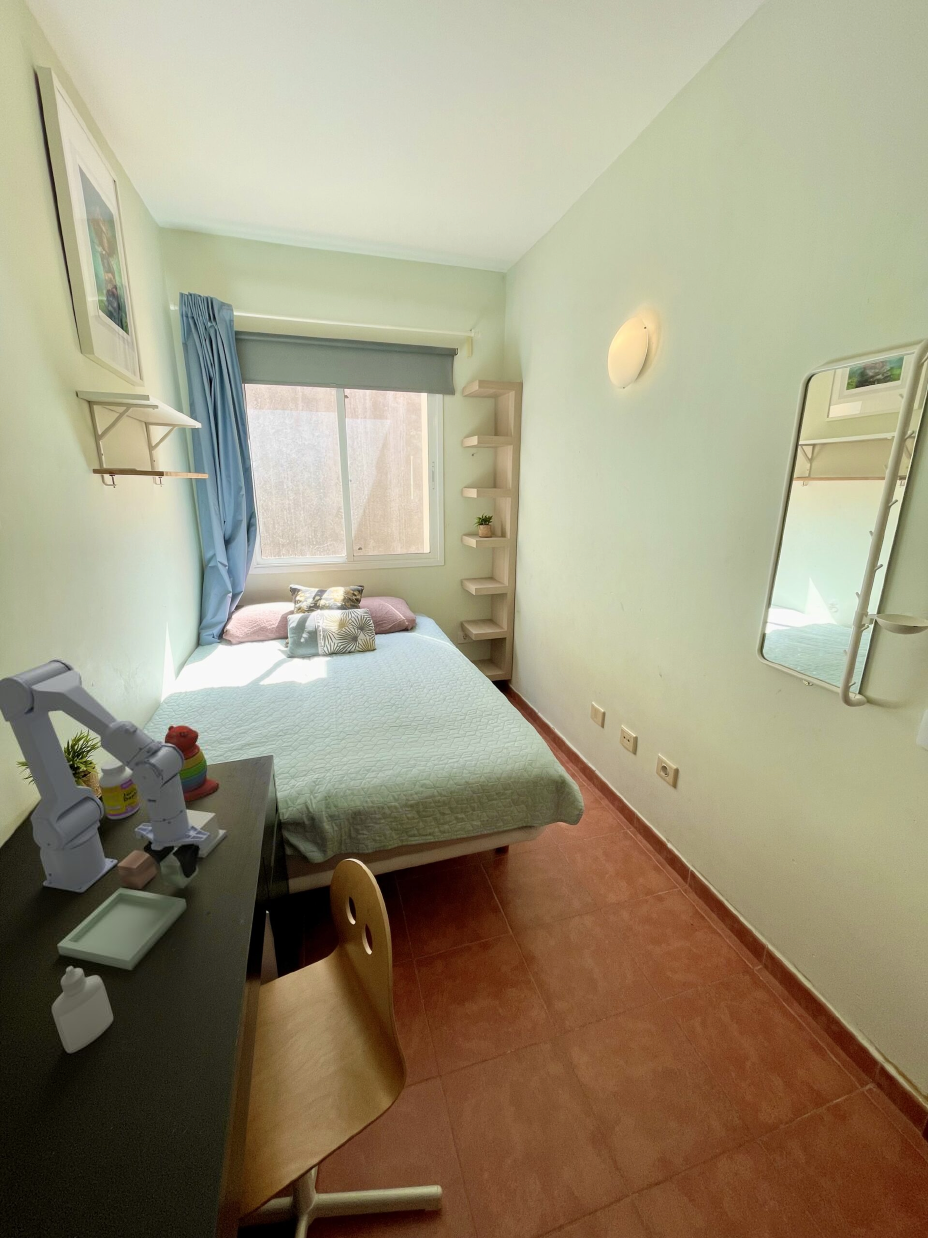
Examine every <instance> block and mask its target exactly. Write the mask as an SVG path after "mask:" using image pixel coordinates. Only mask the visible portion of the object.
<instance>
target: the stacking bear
mask: <svg viewBox="0 0 928 1238" xmlns="http://www.w3.org/2000/svg"><path fill="white" fill-rule="evenodd" d="M167 730H168V732H167V733H165V734H166V735H165V737H164V743H168V744H172V745H174V746H176V747H177V748H178V749H179V750H180V751H181V753H182V754H183V756H184V760H185V763H184V766H183V768H182V769H181V770H180V771H179V772H178V773H179V776H180V781H181V786H182V791H183V796H184V801H185V802H189V801H190V802H191V801H193V800H197V799H200V797H201V798H204V797H206V796H207V794H208V795H210V794H211V793H213V791H214V792H215V791H217V790H218V789H219V787H220V783H219V782H218V781H217V780H214V779H210V778H207V773H208V772H207V771H208V765H207V759H206V756H205V755H204V752H203V751H202V749H201V747H200V746H199V744H197V742H198V739H199V732H198V731H197V730H196V729H192V728H191V727H189V726H188V725H181V724H180V725H177V726H173V725H170V726H169V727H168V729H167ZM216 789H217V790H216ZM209 793H210V794H209ZM205 795H206V796H205Z"/></svg>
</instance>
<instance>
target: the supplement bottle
mask: <svg viewBox="0 0 928 1238" xmlns="http://www.w3.org/2000/svg"><path fill="white" fill-rule="evenodd" d="M100 770H101V773H102V774H101V775H100V777H99V779H98V785H99V790H100V793H101V797H102V800H103V802H102V803H103V807H104V811H105V813H106V816H107V818H109V819H111V820H120V819H125V818H127V817H129V816H131V815H133V814H135V813H136V812H137V811H138V810H139V808H140V807H141V802H140V796H139V792H138V787H137V786H136V785H135V784H134V783H133V781H132V779H131V777H130V775H132V771H131V770H130V769H129V768H128V767H126V766H125V765H124V764H122V763H121V762H120V761H119V760H117V759H116V758H112V759H109V760H107V761H105V762H103V763H101V765H100Z"/></svg>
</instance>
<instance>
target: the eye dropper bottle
mask: <svg viewBox="0 0 928 1238" xmlns="http://www.w3.org/2000/svg"><path fill="white" fill-rule="evenodd" d="M60 985H61V988H62V991H63V992H61V994H60V995H59V996H58V997H57V998H56V999H55V1001H54V1002H53V1004H52V1005H51V1014H52V1016H53V1020H54V1022H55V1026H56V1028H57V1031H58V1034H59V1038H60V1040H61V1043H62V1046H63V1048H64V1050H65V1051H66V1053H68V1054H73V1053H76V1052H78V1051H79V1050H81V1049H83V1048H85V1047H86V1046H88V1045H90V1044H91V1043H92V1042H94V1041H95V1040H96V1039H98V1038H99V1037H100V1036H101V1035H102V1034H103V1033H104V1032H105V1031H106V1030H107V1029H108V1028H109V1027H110V1026H111V1024H112V1022H113V1021H114V1015H113V1011H112V1008H111V1003H110V1000H109V997H108V994H107V990H106V987H105V984H104V982H103V980H102V978H101V977H100V976H99V975H96V974H95V975H91V976H85V973H84V970H83V968H80V967H75V968H74V967H73V966H72V965H70V966H68V967H67V968H66V969H65V974H64V975H63V976H62V977H61V980H60Z"/></svg>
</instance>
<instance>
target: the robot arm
mask: <svg viewBox="0 0 928 1238" xmlns="http://www.w3.org/2000/svg"><path fill="white" fill-rule="evenodd" d="M82 683H83V681H82V676H81V674H80V672H79V671H77V670H75V669H74V667H73V666H72V665H71V664H70V663H68V662H67V661H65V660H63V659H57V658H55V659H51V660H49V661H48V662H45V663H44V664H42V665H41V664H40V665H38V666H35V667H33V668H30V669H28V670H25V671H22V672H19V673H16V674H14V675H11V676H7V677H2V678H1V680H0V712H1V715H2V717H3V720H4V721H5V722H7V723H9V725H10V728H11V729H12V732H13V734H14V737H15V738H16V742H17V744H18V746H19V749H20V751H21V752H22V755H23V758H24V761H25V763H26V765H27V767H28V770H29V772H30V774H31V777H32V779H33V782H34V785H35V786H36V788H37V791H38V794H39V795H40V802H39V803H38V805H37V806H36V807H35V810H34V811H33V813H32V814H31V816H30V821H31V824H32V828H33V829H32V836H33V837H32V838H33V840H34V842H35V843H36V844H37V846H39V847H40V850H39V857H40V861H41V864H42V867H43V870H44V873H45V877H46V880H45V881H44V882H43V883H42V885H43V887H48V888H56V889H59V890H60V889H61V890H66V891H71V892H76V893H84V892H85V891H86V890H87V889H89V888H90V887H92V885H93V884H94V883H96V882H97V881H98V880H99V879H100V878H102V877H104V875H105V874H106V873H107V872H109V871H110V870H111V869H112V868H113V867H114V866H116V865H118V864H119V863H118V860H117V859H112V858H107V857H105V853H104V850H103V845H102V843H101V838H100V835H99V830H98V827H100V826H101V823H100V821H101V819H102V818H103V816H104V814H105V807H104V804H103V802H101V800H100V799H99V798H98V797H97V796H96V795H95V793H94V790H93V788H92V787H89V786H84V785H78V784H77V783H76V781H75V777H74V774H73V772H72V770H71V768H70V765H69V762H68V760H67V758H66V755H65V752H64V750H63V747H62V746H61V743H60V740H59V737H58V735H57V732H56V730H55V727H54V725H53V722H52V720H51V718H50V715H49V713H50V712H58V711H59V712H60V711H61V712H63V713H64V714H66V715H67V716H69V717H71V718H72V720H75V721H76V722H78V723H80V724H81V725H82V726H84V727H85V728H87V729H89V730H90V731H92V732H93V733H94V734H96V735H98V736H100V737H99V738H100V747H101V748H102V749H103V750H104V751H106V752H108V753H109V754H110V755H111V756H112V757H114V759H117V760H119V761H120V762H121V763H122V764H124V765H125V766H126V767H128V768H129V769H130V770H131V771H132V775H130V777H131V779H132V781H133V783H134V784H135V785H136V787H137V789H138V790H139V792H140V796H141V797H142V798H143V799H145V805H146V809H147V813H148V818H149V823H147V822H146V823H145V822H142V823H141V824H140V825H139V826H137V827H136V828H135V829H134V833H135V837H136V839H138V840H142V839H144V838H145V839H146V840H148V841H147V844H145V846H143V852H146V853H147V854H149V855H150V856H151V857H152V858H153V859H154V862H156V864H157V865H158V866H159V868H160V869H161V866H160V862H161V861H163V860H164V859H165V858H166V857H167V856H168V855H169V854H170V853H171V852H172V851H173V850H174V846H175V845H181V846H180V847H179V848H178V849H177V850H176V851H174V852H173V856H174V857H176V858H177V860H178V861H179V863H180V865H181V867H182V871H183V874H184V876H185V877H186V878H190V877H191V876H192V875H193V873H194V872H195V871H196V867H198V854H199V851H200V849H205V848H206V847H207V846H208V845H209V843H210V842H211V837H210V833H207V832H204V831H202V830H200V829H199V828H197V827H195V826H194V825H192V824H191V823H189V821H188V816H187V811H186V810H187V808H186V801H184V796H183V791H182V786H181V781H180V776H179V773H178V772H179V771H180V770H181V769H182V768H183V766H184V763H185V760H184V756H183V754H182V753H181V751H180V750H179V749H178V748H177V747H176V746H174V745H172V744H168V743H165V742H163V741H161V740H157V741H156V740H155V739H153V738H152V737H151V736H149V735H148V733H146V732H145V731H144V730H142V729H141V728H140V727H138V726H137V725H136V724H135V723H133V722H132V721H130V720H119V719H117V718H116V717H115V716H114V715H113V714H112V713H111V712H110V711H109V710H107V708H105V707H104V705H102V704H101V703H100V702H99V701H98V700H97V699H96V698H95V697H94V696H93V695H91V693H90V692H88V690H86V689H85V688H84V686H83V684H82Z"/></svg>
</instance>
